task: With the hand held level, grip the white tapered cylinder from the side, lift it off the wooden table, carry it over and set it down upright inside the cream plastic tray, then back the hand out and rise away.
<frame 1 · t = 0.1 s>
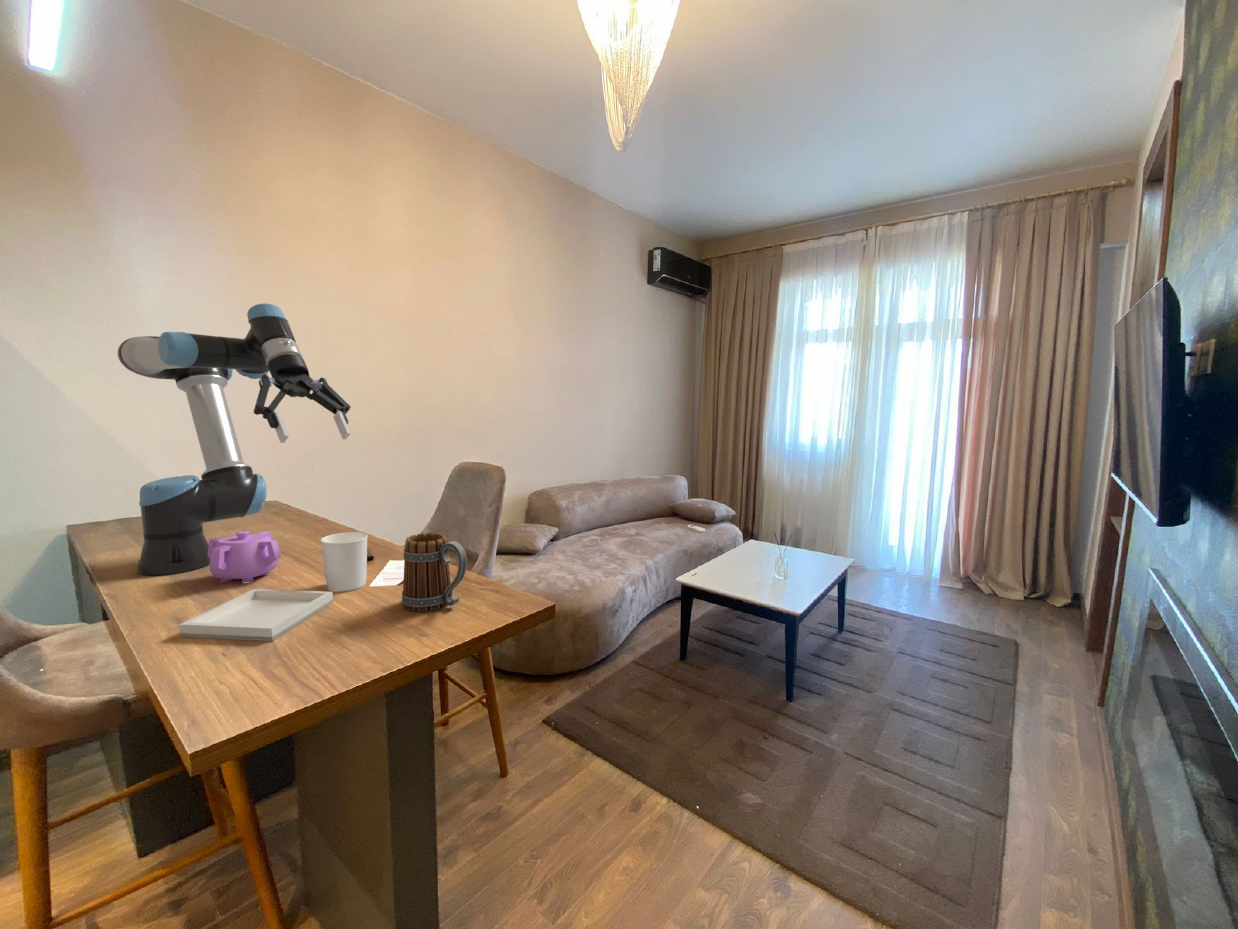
hand: (317, 438, 114), 36 cm above the table, tool tilted 35°, fingers open, 13 cm apart
white tapered cylinder: (347, 586, 120), on the table
mug: (436, 605, 110), on the table
pot: (246, 578, 125), on the table
tray: (263, 618, 102), on the table
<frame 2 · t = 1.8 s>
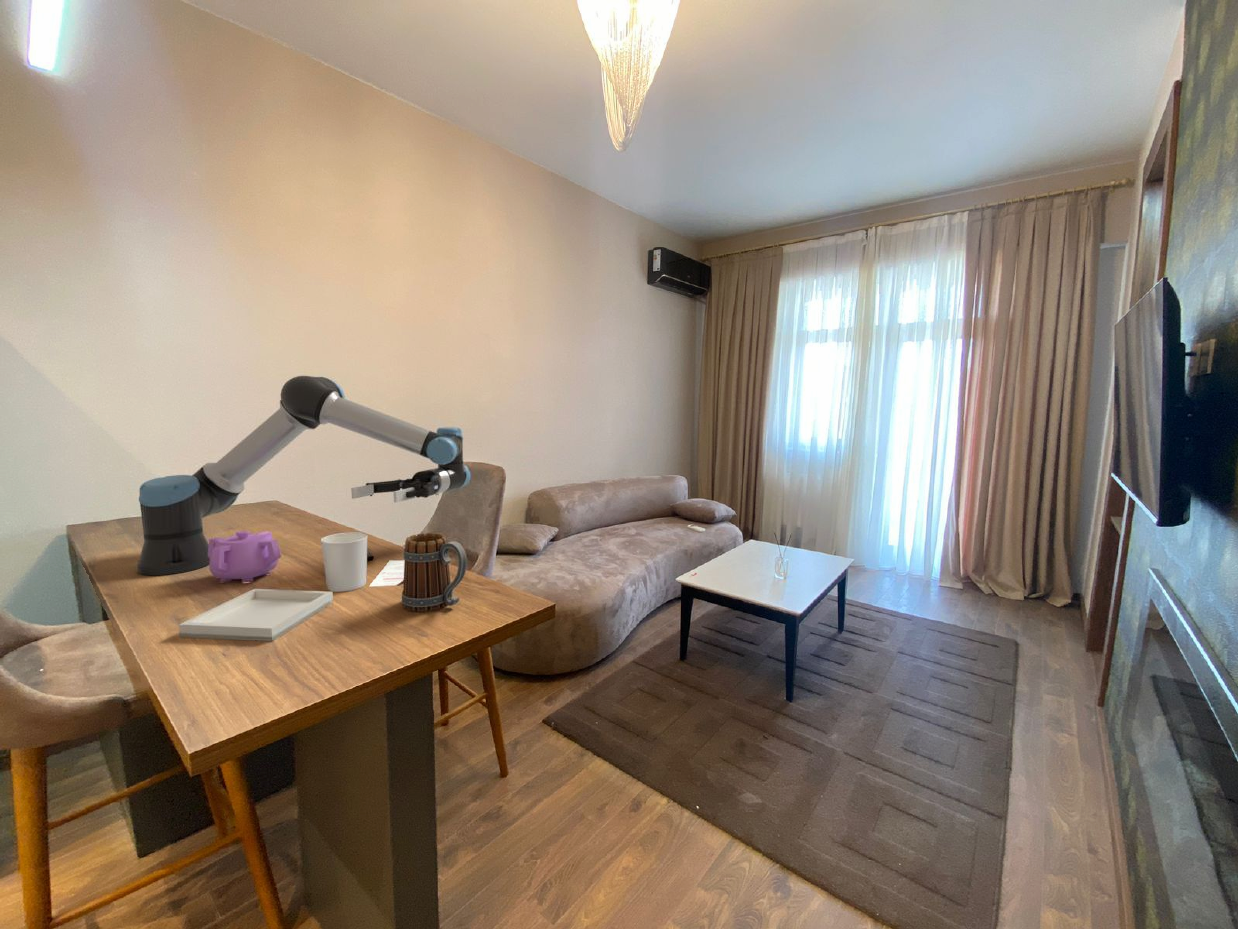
hand: (373, 495, 127), 21 cm above the table, tool horizontal, fingers open, 13 cm apart
nothing on the table moved.
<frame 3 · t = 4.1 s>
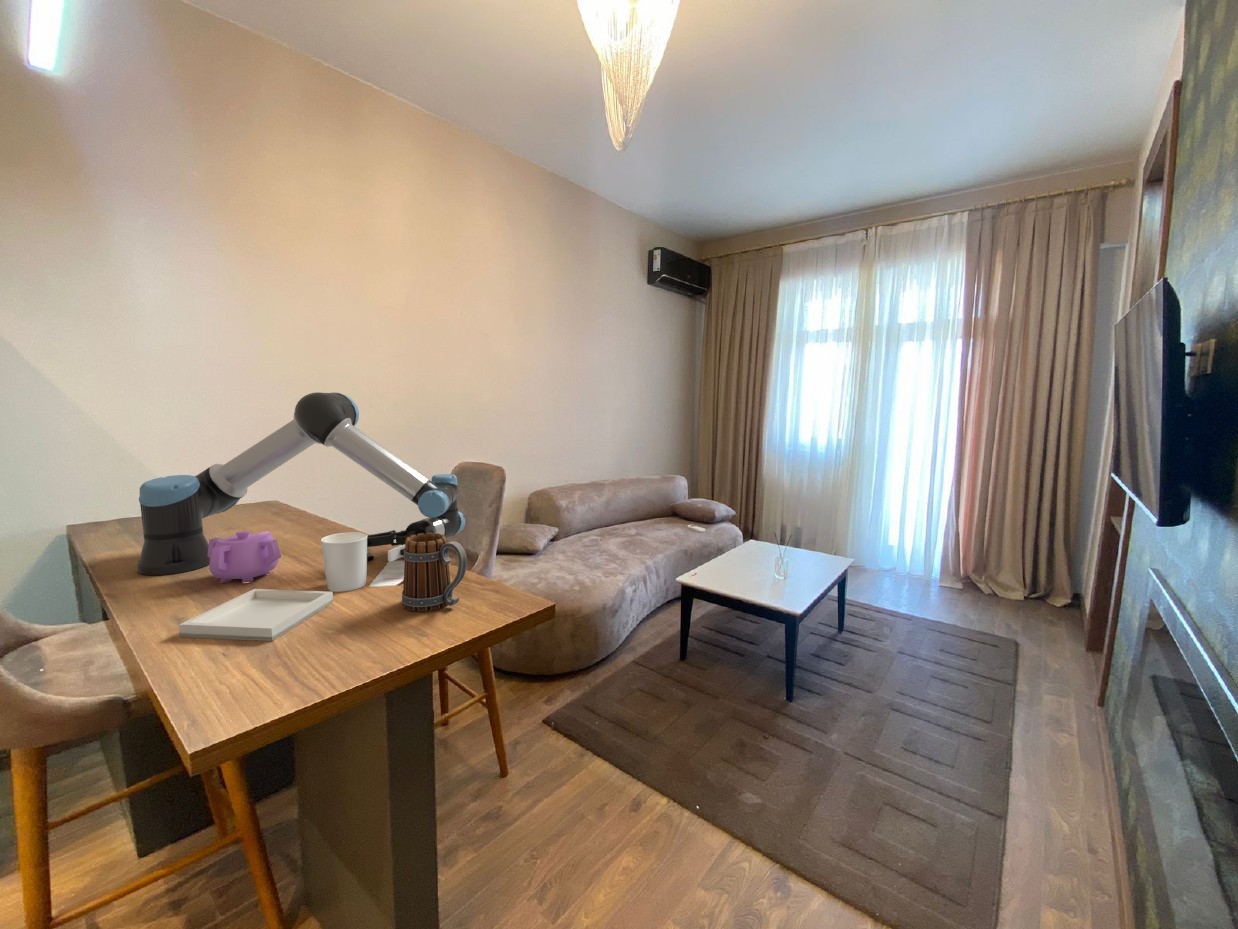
hand: (367, 553, 125), 6 cm above the table, tool horizontal, fingers open, 13 cm apart
nothing on the table moved.
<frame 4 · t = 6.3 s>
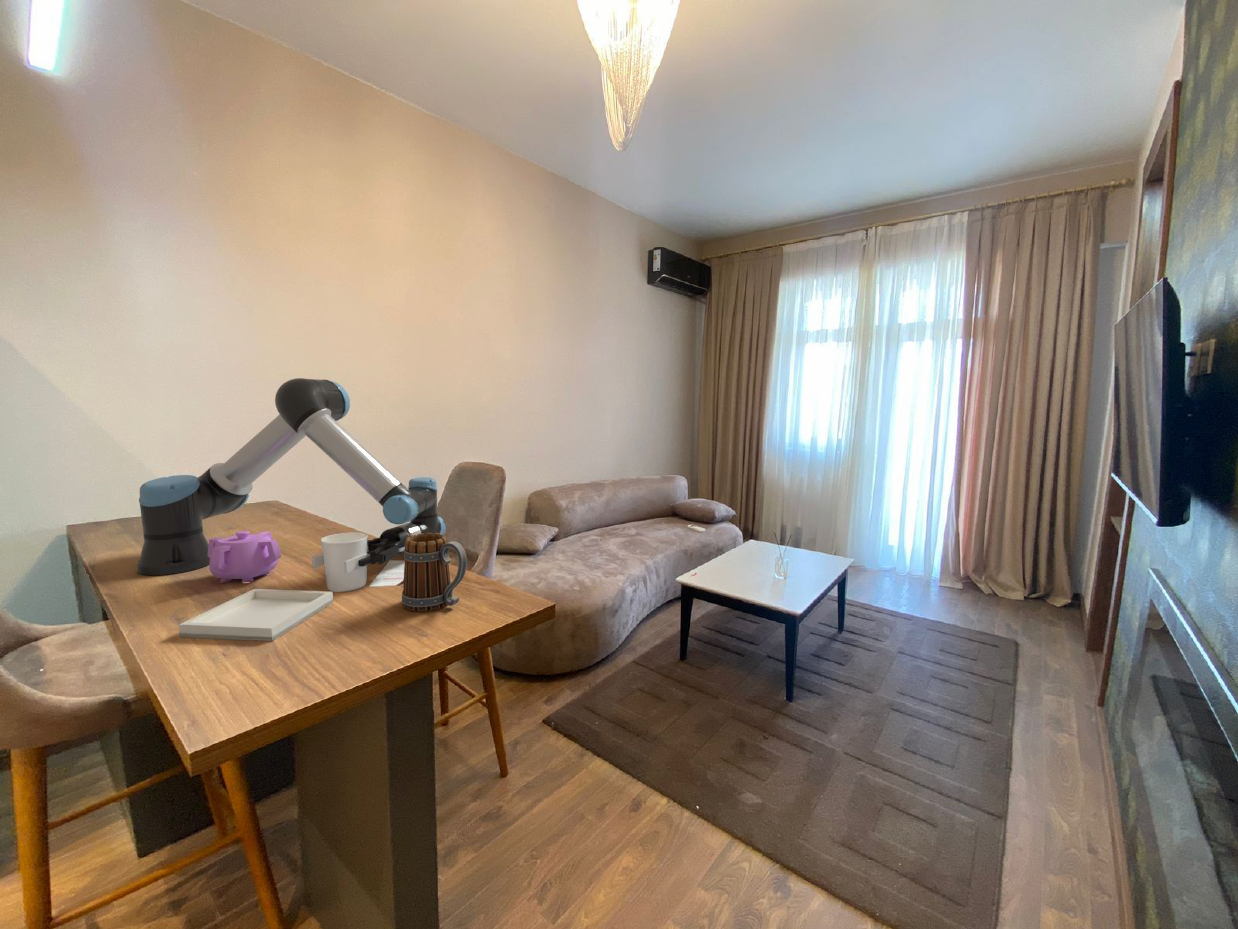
hand: (329, 564, 115), 7 cm above the table, tool horizontal, fingers closed on white tapered cylinder, 9 cm apart
white tapered cylinder: (347, 586, 120), on the table, touching gripper
everything else where it was.
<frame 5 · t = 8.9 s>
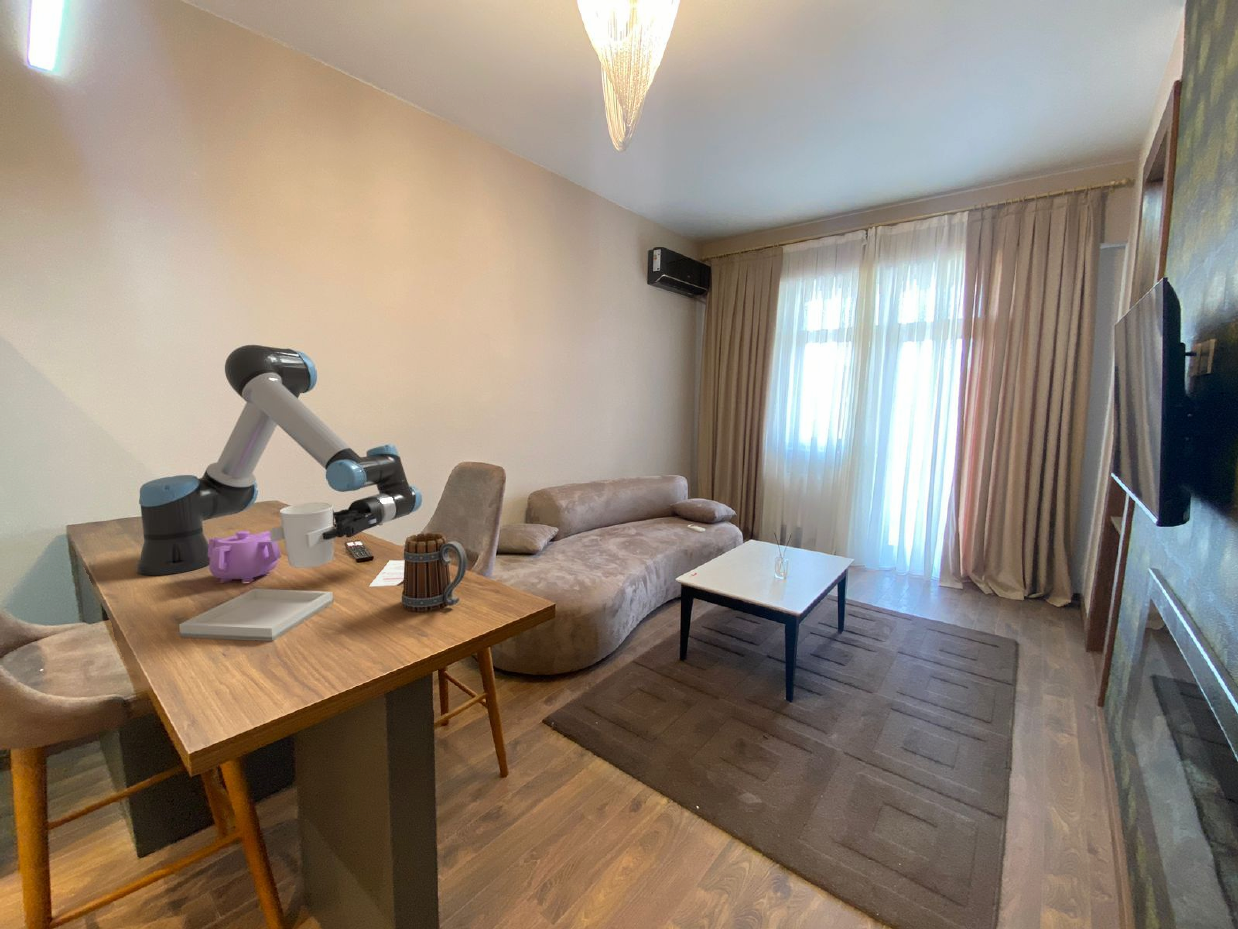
hand: (289, 538, 104), 16 cm above the table, tool horizontal, fingers closed on white tapered cylinder, 9 cm apart
white tapered cylinder: (312, 562, 109), point 9 cm above the table, touching gripper
everything else where it was.
when the fingers open (9 cm above the table, at t = 11.7 s): white tapered cylinder drops 1 cm, resting on tray.
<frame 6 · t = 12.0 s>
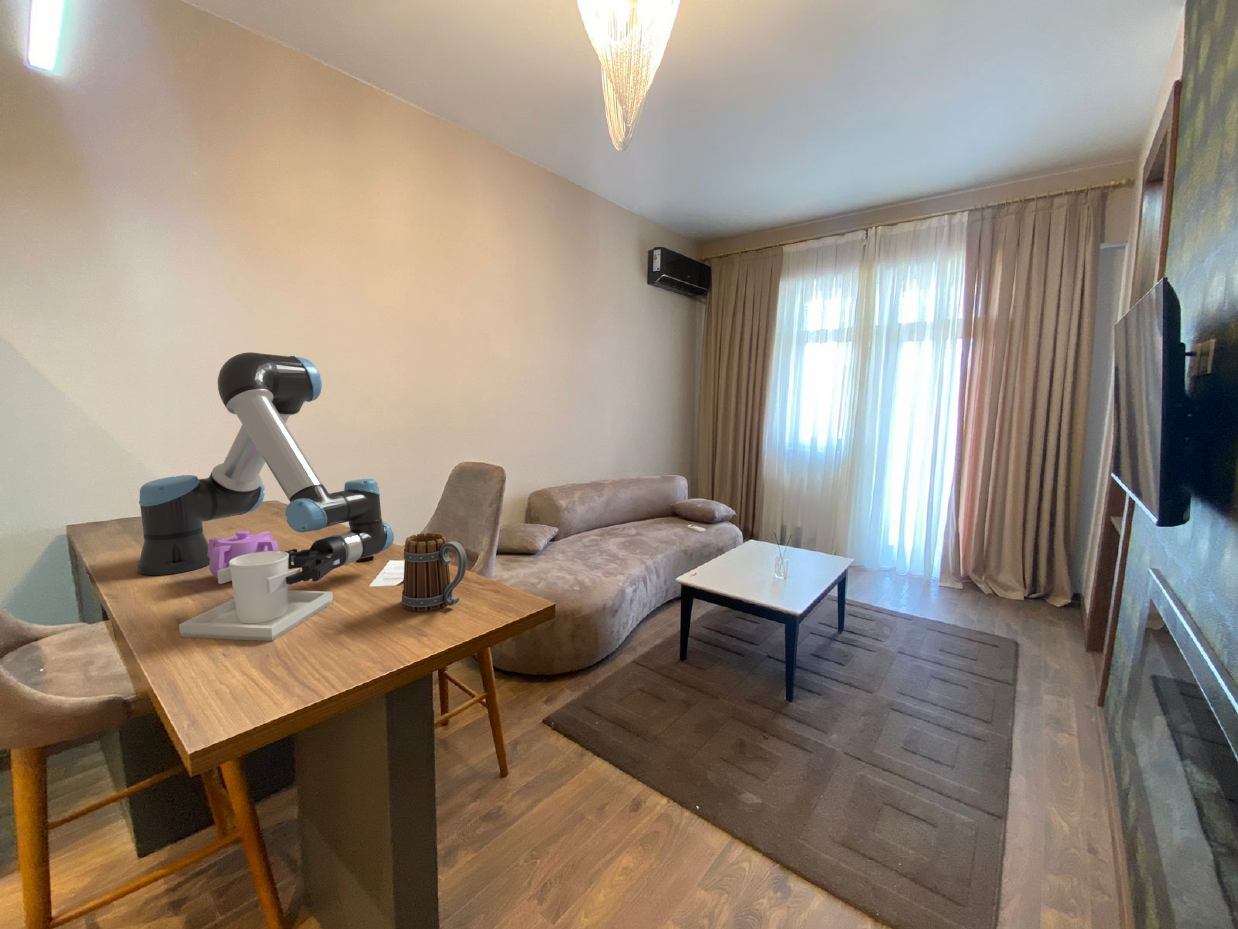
hand: (242, 581, 98), 9 cm above the table, tool horizontal, fingers open, 13 cm apart
white tapered cylinder: (263, 616, 102), point 1 cm above the table, touching tray
everything else where it was.
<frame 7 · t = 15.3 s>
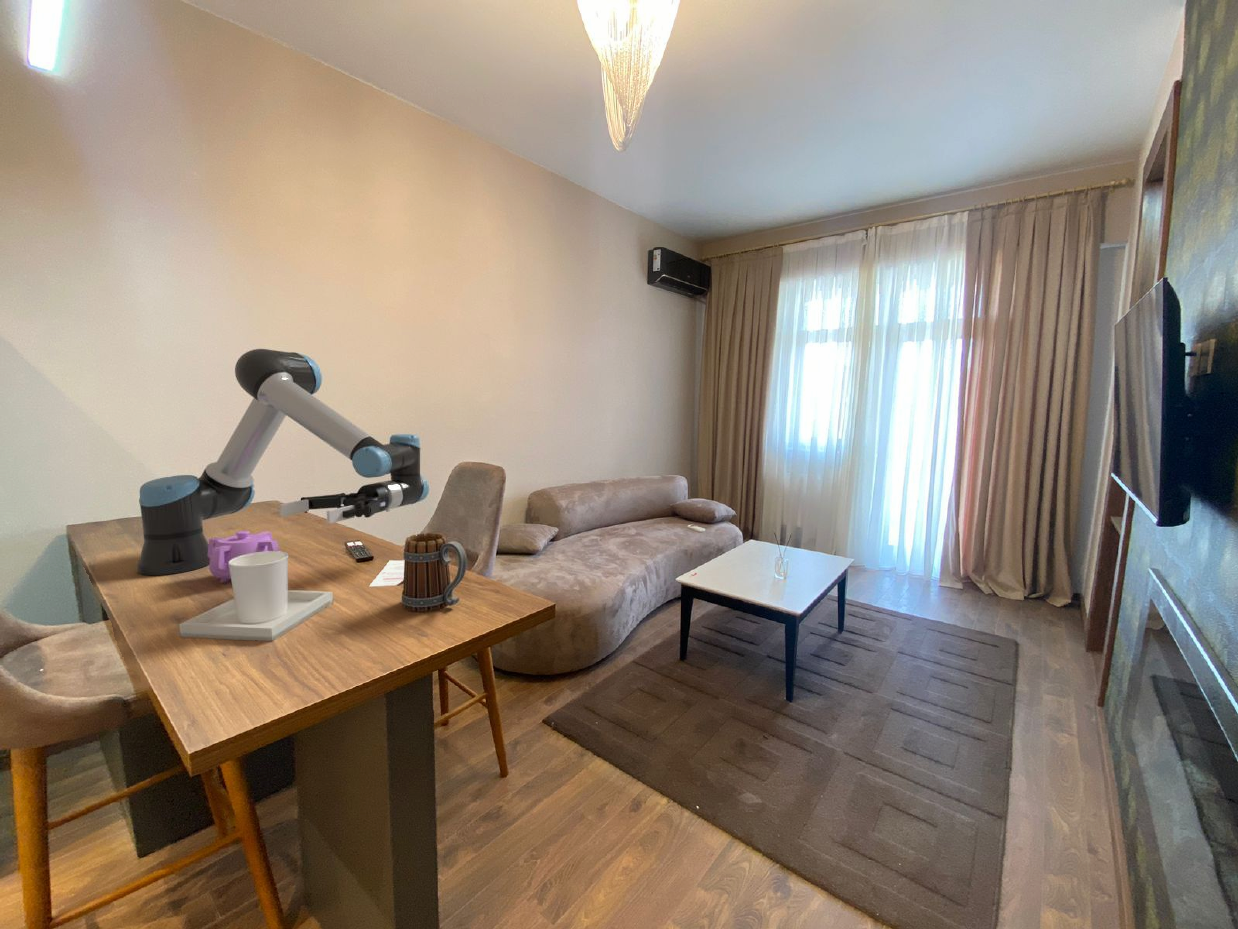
hand: (303, 513, 109), 20 cm above the table, tool horizontal, fingers open, 13 cm apart
nothing on the table moved.
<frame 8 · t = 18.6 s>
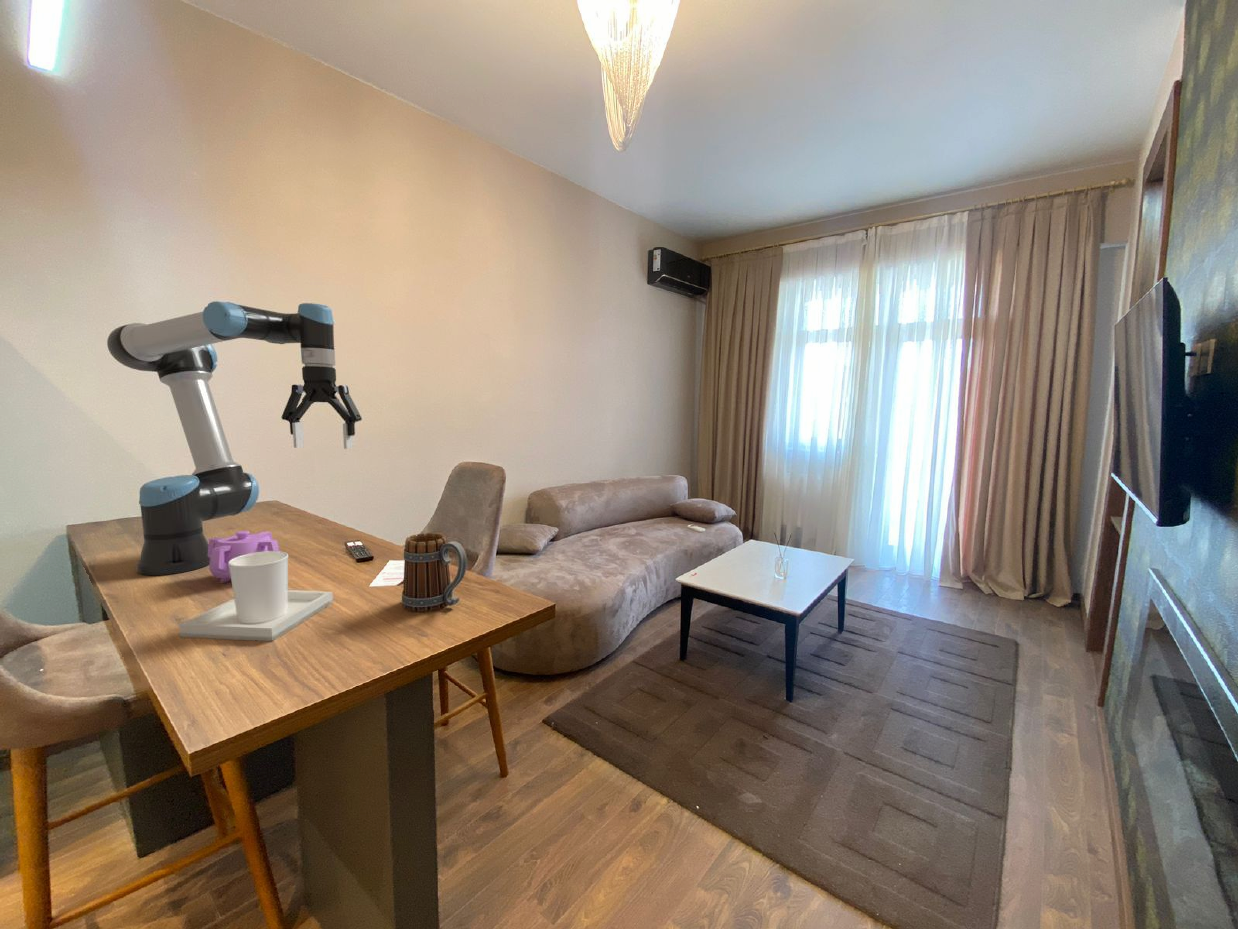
hand: (323, 447, 132), 32 cm above the table, tool pointing down, fingers open, 13 cm apart
nothing on the table moved.
at the end: white tapered cylinder inside the target area on the tray (0.4 cm from its centre), point 0.6 cm above the tray's base; white tapered cylinder tilted 0°; the gripper is holding nothing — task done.
